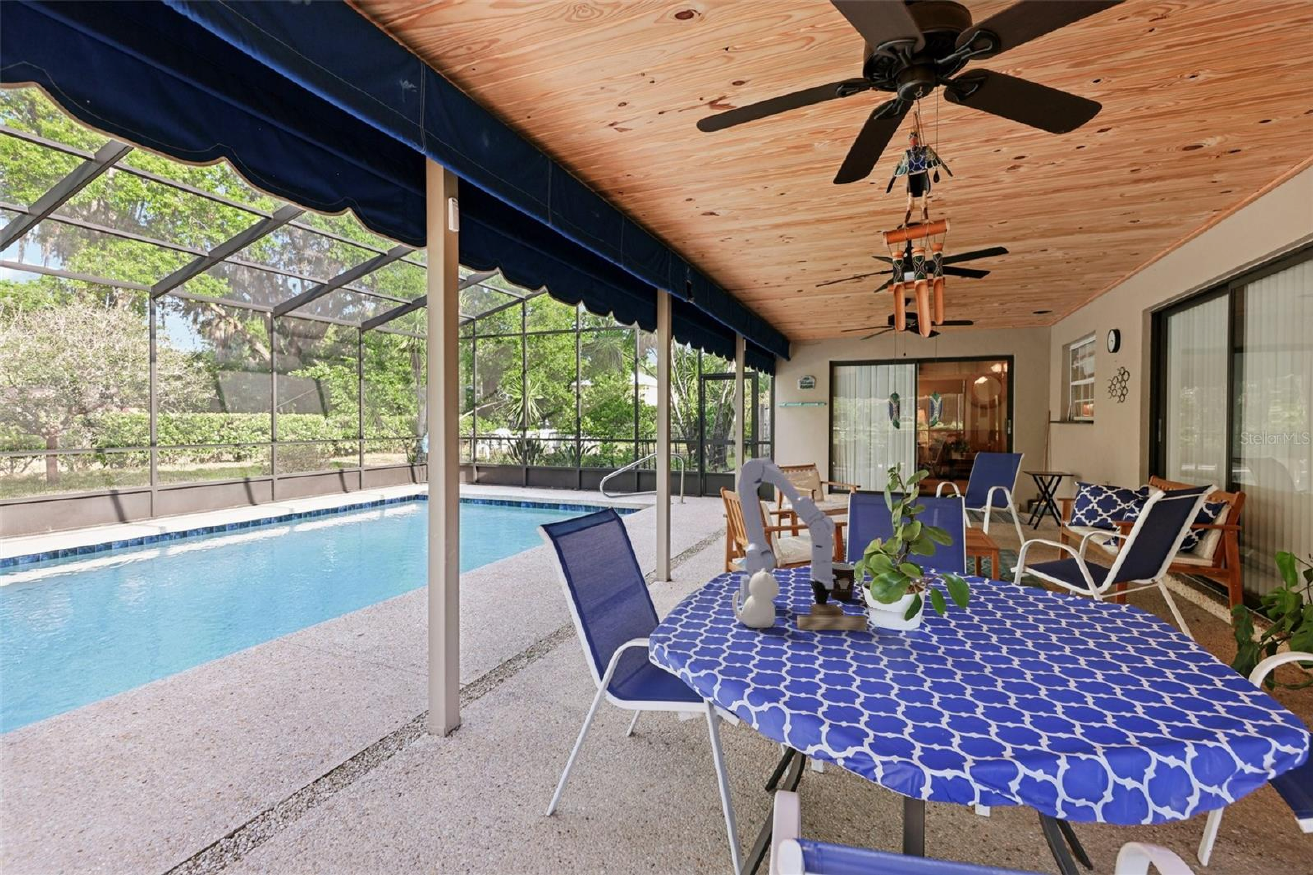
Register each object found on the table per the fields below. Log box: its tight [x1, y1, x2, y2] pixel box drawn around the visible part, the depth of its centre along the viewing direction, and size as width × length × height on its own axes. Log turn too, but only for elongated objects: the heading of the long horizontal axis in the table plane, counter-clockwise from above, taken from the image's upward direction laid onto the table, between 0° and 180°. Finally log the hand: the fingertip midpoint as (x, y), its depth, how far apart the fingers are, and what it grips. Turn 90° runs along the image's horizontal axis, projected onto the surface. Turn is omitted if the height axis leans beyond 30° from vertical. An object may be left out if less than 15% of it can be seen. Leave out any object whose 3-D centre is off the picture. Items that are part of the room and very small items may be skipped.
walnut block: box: [809, 603, 845, 616], centre depth 161 cm, size 7×6×4 cm
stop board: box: [796, 614, 868, 631], centre depth 156 cm, size 18×2×3 cm, turn 92°
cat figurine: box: [731, 568, 781, 629], centre depth 158 cm, size 9×12×15 cm
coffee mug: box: [829, 562, 856, 602], centre depth 185 cm, size 12×9×10 cm
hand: (820, 607), depth 166 cm, fingers closed
